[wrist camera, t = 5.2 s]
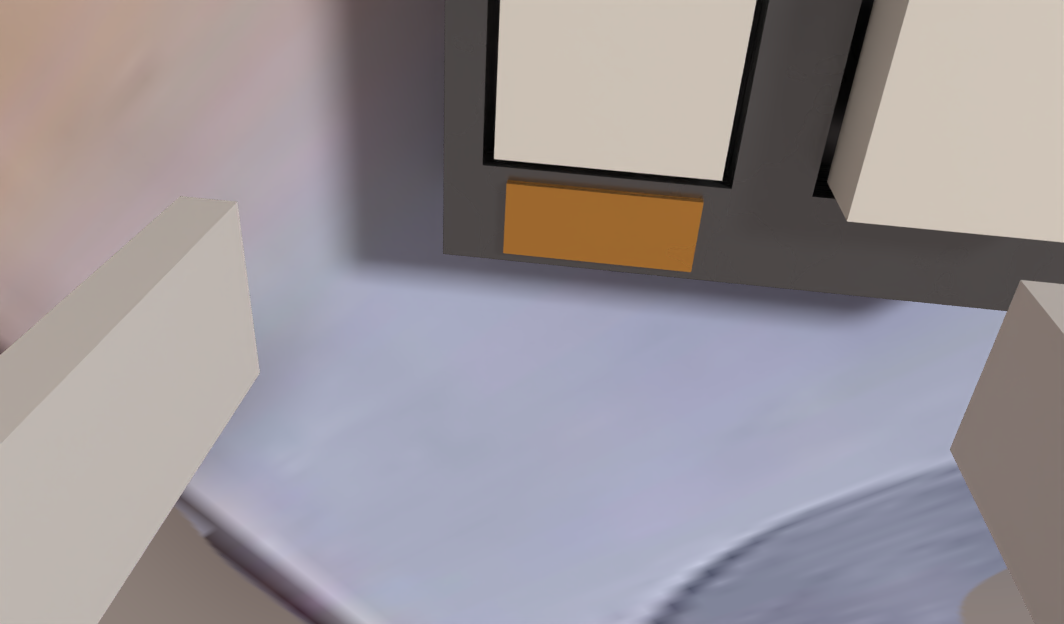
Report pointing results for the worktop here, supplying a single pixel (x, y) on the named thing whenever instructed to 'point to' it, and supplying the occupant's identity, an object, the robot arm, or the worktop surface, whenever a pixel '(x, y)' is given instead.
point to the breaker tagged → (621, 83)
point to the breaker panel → (716, 183)
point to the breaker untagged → (957, 119)
